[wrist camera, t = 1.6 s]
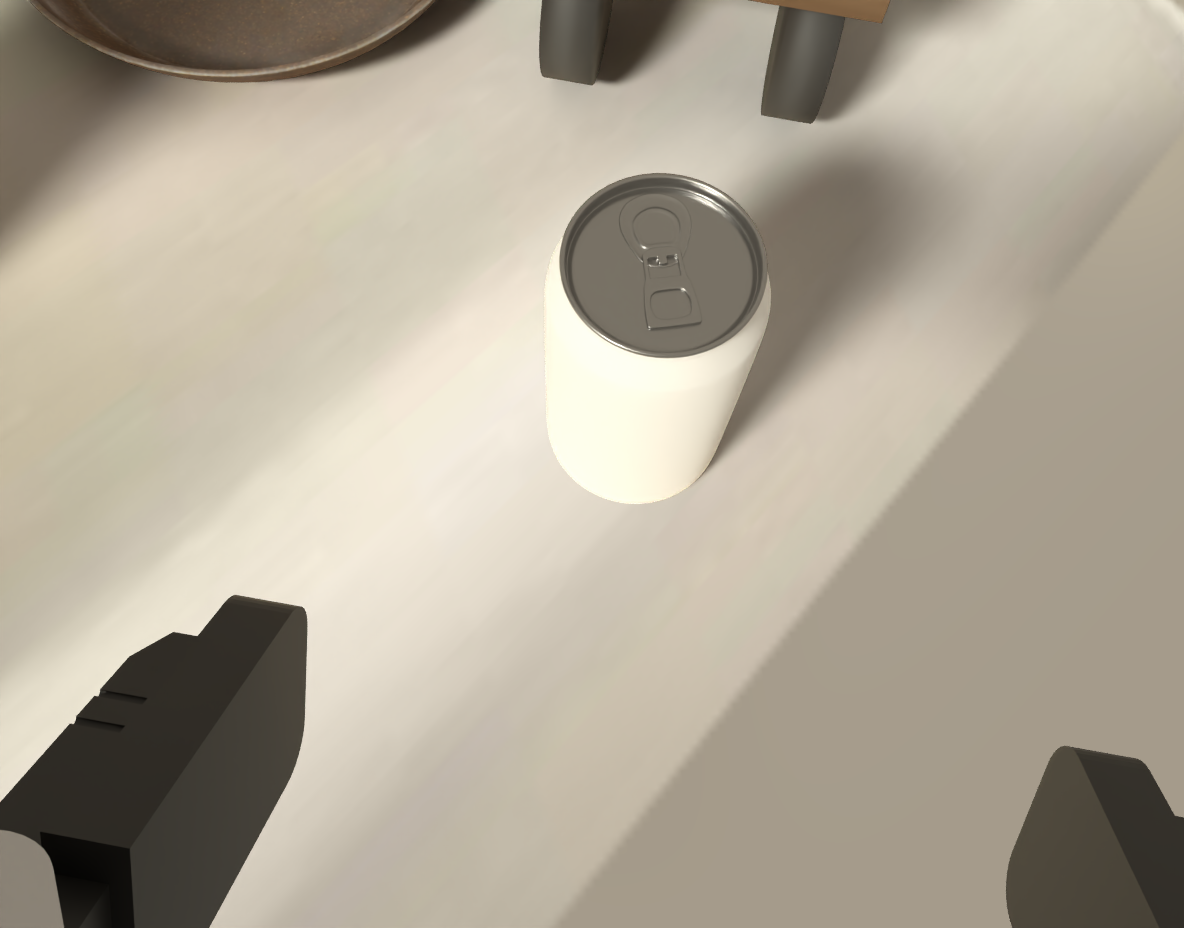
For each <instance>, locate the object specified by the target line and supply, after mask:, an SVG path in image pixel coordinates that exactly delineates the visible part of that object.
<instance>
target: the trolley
mask: <svg viewBox="0 0 1184 928" xmlns="http://www.w3.org/2000/svg"><path fill="white" fill-rule="evenodd" d="M750 1H756V2H762V3H767V4H773V5H779V11H778V15H777V20H776V25H775V29H774V34H773V39H772V44H771V49H770V55H769V60H768V65H767V71H766V77H765V83H764V90H763V97H762V105H761V115H764V116H769V117H775V118H781V119H786V120H792V121H798V122H803V123H809V124H811V123H813V121H814V120H815V118H816V116H817V114H818V111H819V109H820V106H821V104H822V101H823V98H824V95H825V92H826V89H827V85H828V82H829V79H830V75H831V72H832V68H833V64H834V61H835V57H836V53H837V49H838V45H839V41H840V37H841V33H842V28H843V24H844V20H845V17H849V18H854V19H860V20H866V21H872V22H878V23H882V20H883V18H884V15H885V13H886V10H887V8H888V5H889V3H890V0H750ZM612 3H613V0H542V9H541V21H540V40H539V58H540V69H541V73H542V76H543V77H547V78H553V79H559V80H564V81H570V82H576V83H582V84H587V85H593V84H594V83H595V81H596V78H597V75H598V71H599V68H600V64H601V60H602V56H603V51H604V47H605V42H606V37H607V32H608V26H609V21H610V15H611V9H612Z"/></svg>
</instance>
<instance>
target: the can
mask: <svg viewBox="0 0 1184 928" xmlns="http://www.w3.org/2000/svg"><path fill="white" fill-rule="evenodd" d="M770 307H771V287H770V280H769V276H768V264H767V255H766V250H765V246H764V243H763V240H762V238H761V235H760V233H759V231H758V229H757V227H756V226H755V224H754V222H753V221H752V219H751V218H750V217H749V215H748V214H747V213H746V212H745V210H744V209H743V208H742V207H741V206H740V205H739V204H738V203H737V202H736V201H734V200H733V199H732V198H731V197H729V196H728V195H727V194H725V193H724V192H722V191H721V190H719V189H717V188H715V187H714V186H712V185H710V184H707V183H705V182H703V181H700V180H697V179H694V178H691V177H687V176H682V175H676V174H667V173H652V174H642V175H637V176H632V177H628V178H625V179H622V180H619V181H617V182H614V183H612V184H610V185H608V186H606V187H604V188H603V189H601V190H600V191H598V192H597V193H595V194H594V195H593V196H591V197H590V198H589V199H588V200H587V201H586V202H585V203H584V204H583V205H582V206H581V207H580V208H579V209H578V210H577V212H576V213H575V214H574V216H573V217H572V219H571V221H570V222H569V224H568V226H567V228H566V231H565V233H564V236H563V237H562V238H561V240H560V241H559V243H558V245H557V247H556V249H555V251H554V253H553V255H552V258H551V260H550V263H549V267H548V271H547V276H546V282H545V298H544V326H545V380H546V413H547V427H548V434H549V439H550V442H551V446H552V449H553V451H554V453H555V455H556V457H557V459H558V461H559V463H560V464H561V466H562V467H563V468H564V470H565V471H566V472H567V473H568V474H569V476H570V477H571V478H572V479H573V480H575V481H576V482H577V483H578V484H579V485H581V486H582V487H583V488H585V489H586V490H588V491H590V492H592V493H593V494H595V495H597V496H600V497H602V498H605V499H608V500H611V501H615V502H621V503H629V504H643V503H651V502H656V501H660V500H663V499H666V498H669V497H671V496H674V495H676V494H678V493H679V492H681V491H683V490H684V489H686V488H687V487H689V486H690V485H691V484H692V483H694V482H695V481H696V480H697V479H698V478H699V477H700V476H701V474H702V473H703V472H704V471H705V469H706V468H707V466H708V465H709V463H710V462H711V460H712V458H713V456H714V454H715V452H716V450H717V447H718V445H719V443H720V441H721V438H722V436H723V434H724V431H725V429H726V427H727V424H728V422H729V420H730V417H731V415H732V413H733V410H734V408H735V405H736V403H737V401H738V398H739V396H740V393H741V391H742V389H743V386H744V384H745V381H746V379H747V377H748V374H749V372H750V369H751V367H752V364H753V362H754V359H755V357H756V354H757V352H758V349H759V347H760V344H761V342H762V339H763V336H764V333H765V330H766V327H767V323H768V319H769V314H770Z"/></svg>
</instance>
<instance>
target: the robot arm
mask: <svg viewBox="0 0 1184 928" xmlns="http://www.w3.org/2000/svg"><path fill="white" fill-rule="evenodd" d="M306 657H307V615H306V612H305V609H304V608H303V607H300V606H294V605H289V604H283V603H278V602H272V601H267V600H261V599H255V598H250V597H244V596H239V595H233V596H231V597H230V598H229V599H228V600H227V601H226V602H225V603H224V604H223V605H222V607H221V608H220V609H219V610H218V612H217V613H216V614H215V615H214V617H213V618H212V619H211V620H210V621H209V623H208V624H207V625H206V626H205V628H204V629H203V630H202V631H201V633H200V634H199V635H198V636H192V635H187V634H181V633H176V632H173V633H171V634H169V635H167V636H165V637H164V638H162V639H160V640H158V641H156V642H155V643H153V644H151V645H149V646H148V647H146V648H144V649H142V650H140V651H139V652H137V653H135V654H133V655H131V656H130V657H129V658H128V659H127V660H126V661H125V662H124V663H123V664H122V666H121V667H120V668H119V669H118V670H117V671H116V672H115V673H114V675H113V676H112V677H111V678H110V679H109V680H108V681H107V682H106V684H105V685H104V686H103V687H102V688H101V689H100V694H99V696H94V697H93V698H92V699H91V701H90V702H89V703H88V704H87V705H86V706H85V707H84V708H83V710H82V711H81V712H80V713H79V714H78V715H77V716H76V721H75V723H74V724H69V725H68V726H67V728H66V729H65V730H64V731H63V732H62V733H61V734H60V735H59V737H58V738H57V739H56V740H55V741H54V742H53V743H52V745H51V746H50V747H49V748H48V749H47V750H46V751H45V752H44V754H43V755H42V756H41V757H40V758H39V759H38V760H37V761H36V763H35V764H34V765H33V766H32V767H31V768H30V769H29V770H28V772H27V773H26V774H25V775H24V776H23V777H22V778H21V779H20V781H19V782H18V783H17V784H16V785H15V786H14V787H13V789H12V790H11V791H10V792H9V793H8V794H7V795H6V796H5V798H4V799H3V800H2V801H1V802H0V928H209V927H210V925H211V923H212V921H213V920H214V918H215V916H216V914H217V912H218V910H219V908H220V907H221V905H222V903H223V901H224V899H225V897H226V896H227V894H228V892H229V890H230V888H231V886H232V885H233V883H234V881H235V879H236V877H237V875H238V874H239V872H240V870H241V868H242V866H243V864H244V863H245V861H246V859H247V857H248V855H249V853H250V851H251V850H252V848H253V846H254V844H255V842H256V840H257V839H258V837H259V835H260V833H261V831H262V829H263V828H264V826H265V824H266V822H267V820H268V818H269V817H270V815H271V813H272V811H273V809H274V807H275V806H276V804H277V802H278V800H279V798H280V796H281V794H282V793H283V791H284V789H285V787H286V785H287V783H288V781H289V779H290V777H291V775H292V773H293V770H294V767H295V764H296V761H297V758H298V755H299V751H300V747H301V742H302V737H303V731H304V721H305V690H306ZM1006 900H1007V909H1008V914H1009V918H1010V922H1011V925H1012V928H1184V818H1183V817H1178V816H1175V815H1174V814H1173V812H1172V810H1171V808H1170V806H1169V805H1168V803H1167V801H1166V799H1165V797H1164V796H1163V794H1162V792H1161V790H1160V788H1159V787H1158V785H1157V783H1156V781H1155V779H1154V778H1153V776H1152V774H1151V772H1150V770H1149V769H1148V768H1147V766H1146V765H1145V764H1144V763H1143V762H1142V761H1141V760H1139V759H1135V758H1130V757H1124V756H1118V755H1112V754H1108V753H1101V752H1096V751H1090V750H1085V749H1080V748H1074V747H1069V746H1063V747H1060V748H1058V749H1057V750H1056V751H1055V753H1054V754H1053V755H1052V757H1051V758H1050V761H1049V763H1048V765H1047V768H1046V770H1045V772H1044V775H1043V777H1042V780H1041V782H1040V785H1039V787H1038V790H1037V792H1036V795H1035V797H1034V799H1033V802H1032V804H1031V807H1030V809H1029V812H1028V814H1027V817H1026V819H1025V822H1024V824H1023V827H1022V829H1021V832H1020V834H1019V837H1018V839H1017V842H1016V844H1015V846H1014V849H1013V851H1012V854H1011V857H1010V861H1009V866H1008V871H1007V881H1006Z"/></svg>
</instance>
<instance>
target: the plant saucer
mask: <svg viewBox="0 0 1184 928" xmlns="http://www.w3.org/2000/svg"><path fill="white" fill-rule="evenodd" d="M29 1H30V2H31V3H32V5H33V6H34V7H35V8H36V9H37V10H38V11H39V12H40V13H42V14H43V15H44V16H45V17H46V18H47V19H49V20H50V21H51V22H52V23H54V24H55V25H57V26H58V27H59V28H61V29H62V30H63V31H65V32H66V33H68V34H69V35H71V36H73V37H74V38H76V39H78V40H80V41H81V42H83V43H85V44H87V45H89V46H91V47H92V48H94V49H96V50H98V51H100V52H103V53H105V54H107V55H109V56H111V57H114V58H116V59H119V60H121V61H124V62H127V63H129V64H132V65H135V66H138V67H141V68H144V69H147V70H151V71H155V72H159V73H162V74H167V75H172V76H177V77H182V78H188V79H196V80H202V81H214V82H262V81H272V80H278V79H285V78H292V77H297V76H301V75H305V74H309V73H313V72H317V71H320V70H323V69H327V68H330V67H333V66H336V65H339V64H341V63H344V62H347V61H349V60H351V59H353V58H356V57H358V56H360V55H362V54H364V53H366V52H368V51H370V50H372V49H374V48H376V47H377V46H379V45H381V44H382V43H384V42H386V41H387V40H389V39H390V38H392V37H393V36H395V35H396V34H398V33H399V32H401V31H402V30H404V29H405V28H406V27H407V26H409V25H410V24H411V23H412V22H414V21H415V20H416V19H417V18H418V17H419V16H420V15H421V14H423V13H424V12H425V11H426V10H427V9H428V8H429V7H430V6H431V5H432V4H433V3H434V2H435V1H436V0H29Z"/></svg>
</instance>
